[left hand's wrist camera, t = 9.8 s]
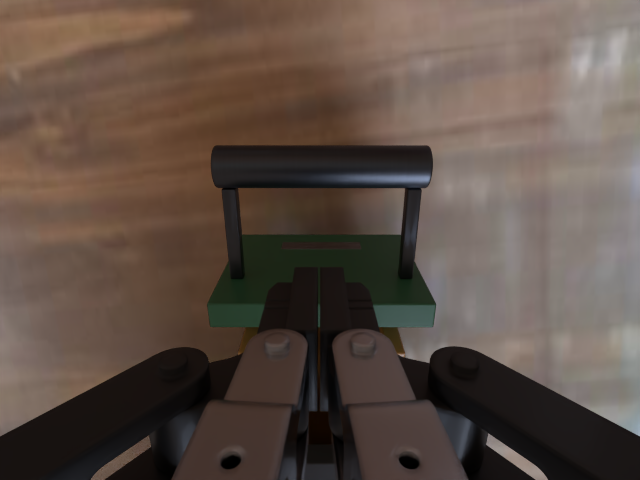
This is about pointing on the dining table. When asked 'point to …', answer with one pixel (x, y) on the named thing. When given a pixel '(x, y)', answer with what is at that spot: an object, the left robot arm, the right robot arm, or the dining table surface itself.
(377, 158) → the drawer
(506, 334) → the dining table surface
